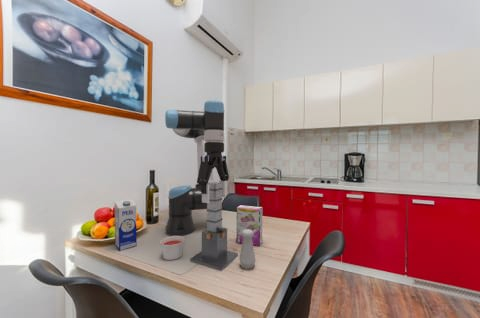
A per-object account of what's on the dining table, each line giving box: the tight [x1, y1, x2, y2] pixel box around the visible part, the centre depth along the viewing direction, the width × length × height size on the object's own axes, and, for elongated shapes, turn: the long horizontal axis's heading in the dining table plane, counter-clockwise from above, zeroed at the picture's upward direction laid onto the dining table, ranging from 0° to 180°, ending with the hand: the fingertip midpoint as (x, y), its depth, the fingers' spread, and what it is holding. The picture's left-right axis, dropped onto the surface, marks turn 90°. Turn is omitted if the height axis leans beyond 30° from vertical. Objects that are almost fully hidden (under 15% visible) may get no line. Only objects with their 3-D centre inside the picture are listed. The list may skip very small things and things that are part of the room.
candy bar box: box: [236, 204, 263, 247], centre depth 92 cm, size 11×5×16 cm, turn 71°
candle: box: [159, 235, 185, 261], centre depth 80 cm, size 9×9×6 cm
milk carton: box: [114, 198, 138, 252], centre depth 89 cm, size 7×7×20 cm
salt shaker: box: [239, 229, 256, 270], centre depth 73 cm, size 6×6×13 cm
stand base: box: [189, 226, 239, 272], centre depth 78 cm, size 14×12×12 cm
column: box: [205, 181, 223, 234], centre depth 78 cm, size 4×4×22 cm
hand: (214, 199), depth 78 cm, fingers open, 10 cm apart
